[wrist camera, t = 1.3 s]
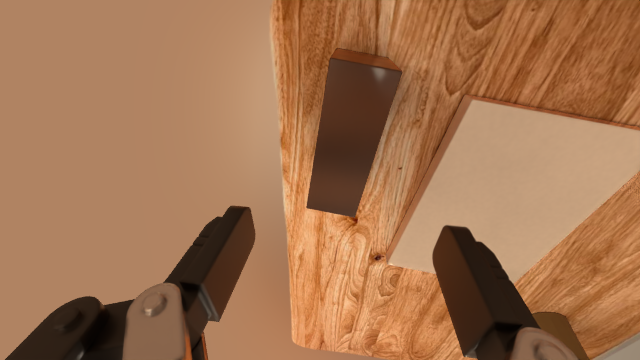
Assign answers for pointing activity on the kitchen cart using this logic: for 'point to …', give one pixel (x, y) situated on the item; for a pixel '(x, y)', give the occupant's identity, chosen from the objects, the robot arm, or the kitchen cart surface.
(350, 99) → the dark brown block
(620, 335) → the kitchen cart surface
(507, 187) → the tile
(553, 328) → the olive brown pawn
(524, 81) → the kitchen cart surface
